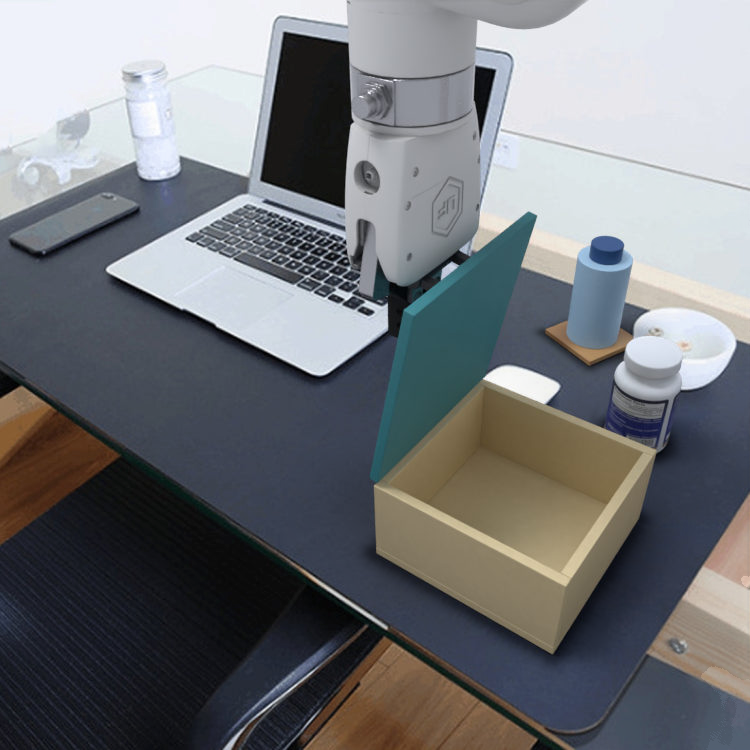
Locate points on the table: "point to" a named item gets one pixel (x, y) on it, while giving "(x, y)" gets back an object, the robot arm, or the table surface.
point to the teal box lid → (447, 341)
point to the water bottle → (599, 293)
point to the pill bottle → (646, 391)
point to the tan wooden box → (513, 509)
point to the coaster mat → (584, 353)
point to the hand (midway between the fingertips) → (411, 335)
